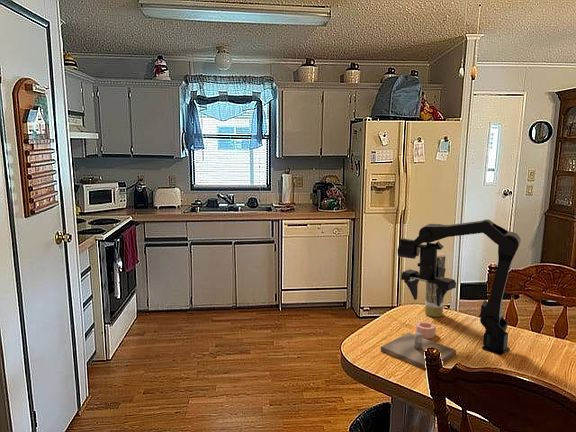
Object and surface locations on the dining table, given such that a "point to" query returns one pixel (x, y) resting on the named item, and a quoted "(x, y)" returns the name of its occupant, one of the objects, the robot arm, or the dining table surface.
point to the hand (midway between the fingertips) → (426, 302)
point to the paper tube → (434, 292)
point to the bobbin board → (415, 349)
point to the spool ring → (426, 329)
